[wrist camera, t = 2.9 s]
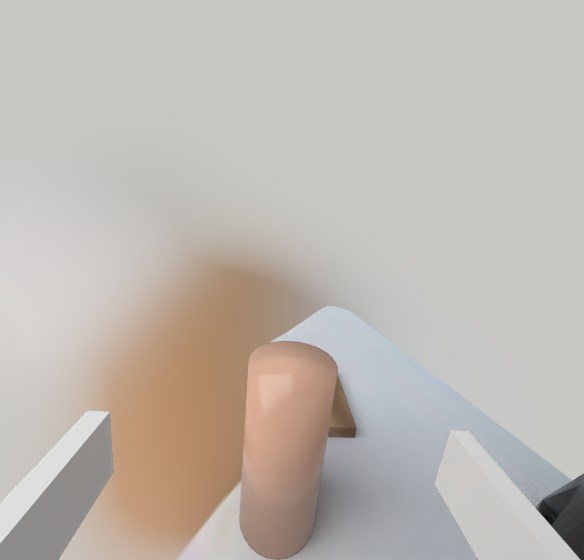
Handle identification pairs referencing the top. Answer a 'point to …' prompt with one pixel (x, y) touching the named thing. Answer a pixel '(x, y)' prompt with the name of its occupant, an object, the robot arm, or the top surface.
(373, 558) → the top surface
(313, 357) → the terracotta canister
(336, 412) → the cutting board
